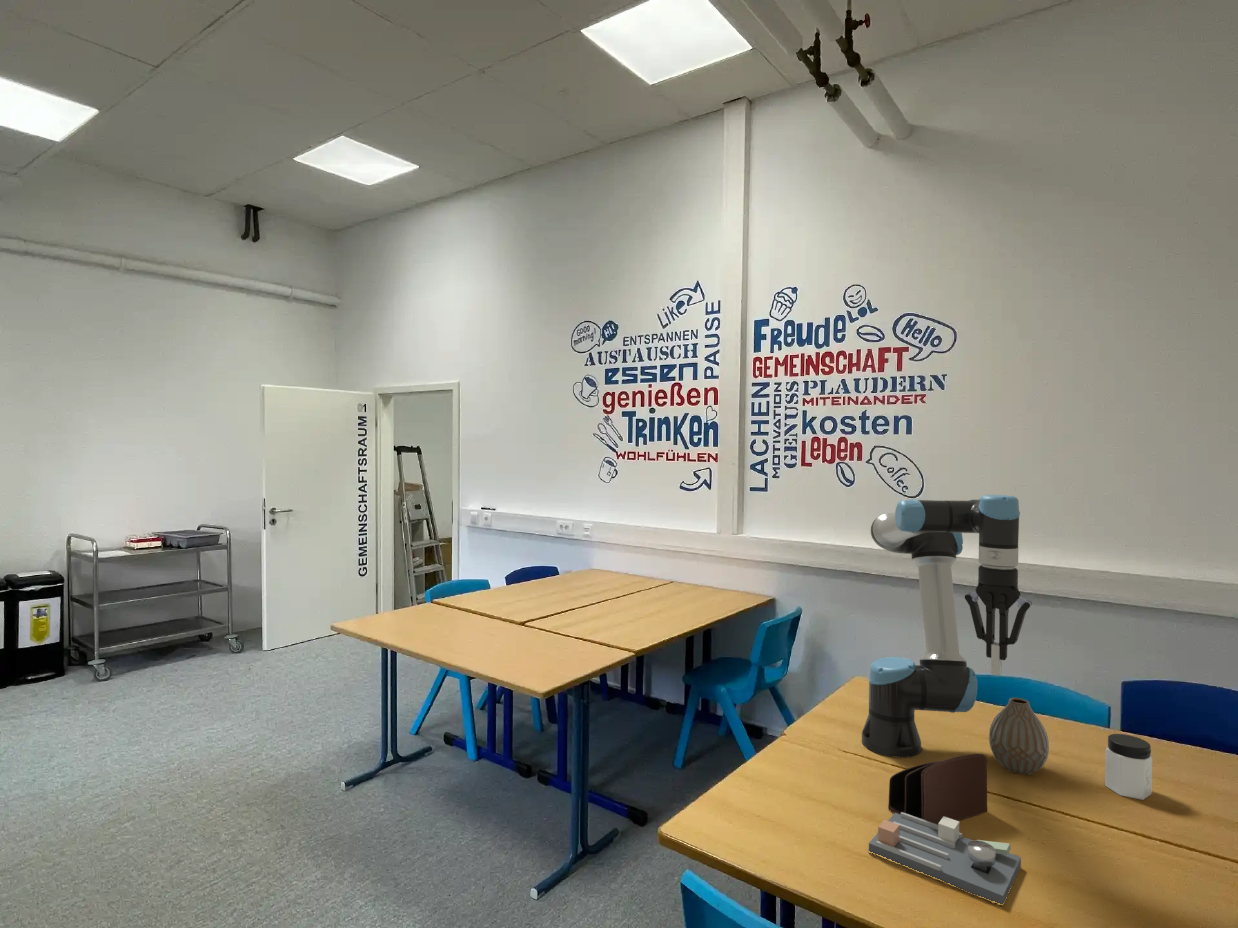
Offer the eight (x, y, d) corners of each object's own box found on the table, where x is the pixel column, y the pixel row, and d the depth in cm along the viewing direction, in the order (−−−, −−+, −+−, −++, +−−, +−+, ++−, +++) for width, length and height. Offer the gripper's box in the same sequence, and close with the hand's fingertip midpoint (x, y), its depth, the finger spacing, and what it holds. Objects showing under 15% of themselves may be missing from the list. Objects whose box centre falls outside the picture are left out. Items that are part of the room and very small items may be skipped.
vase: (1038, 786, 162) (1039, 715, 161) (980, 767, 171) (981, 699, 171) (1055, 769, 170) (1057, 701, 170) (999, 751, 180) (1000, 687, 180)
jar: (1141, 803, 154) (1142, 751, 154) (1100, 788, 161) (1101, 738, 161) (1156, 792, 159) (1157, 742, 159) (1116, 778, 166) (1117, 730, 166)
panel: (868, 852, 135) (868, 830, 135) (894, 821, 147) (895, 801, 146) (1002, 906, 119) (1003, 881, 119) (1020, 867, 131) (1021, 844, 131)
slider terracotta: (878, 842, 135) (878, 826, 135) (884, 834, 138) (884, 819, 138) (893, 848, 133) (893, 832, 133) (899, 840, 136) (899, 824, 136)
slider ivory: (938, 838, 136) (938, 823, 136) (943, 831, 139) (943, 816, 139) (954, 844, 134) (954, 828, 134) (959, 836, 137) (959, 821, 137)
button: (964, 871, 127) (965, 847, 127) (971, 860, 131) (971, 837, 131) (991, 882, 124) (992, 857, 124) (997, 870, 128) (998, 846, 128)
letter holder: (988, 812, 150) (989, 750, 150) (923, 833, 142) (924, 767, 142) (950, 791, 160) (950, 733, 159) (887, 810, 152) (888, 748, 151)
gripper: (960, 564, 148) (959, 670, 148) (1029, 572, 139) (1027, 684, 140) (969, 560, 153) (968, 662, 154) (1036, 567, 145) (1034, 675, 145)
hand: (996, 673), depth 147 cm, fingers closed
